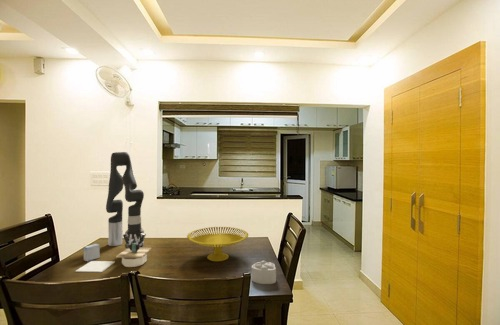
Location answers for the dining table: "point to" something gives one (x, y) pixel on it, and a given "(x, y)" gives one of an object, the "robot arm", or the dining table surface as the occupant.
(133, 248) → the lid
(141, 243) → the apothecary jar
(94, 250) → the medicine box
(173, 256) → the dining table surface
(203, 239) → the cake stand
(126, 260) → the bowl
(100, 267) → the mat
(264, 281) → the lumpy-topped squat cylinder
